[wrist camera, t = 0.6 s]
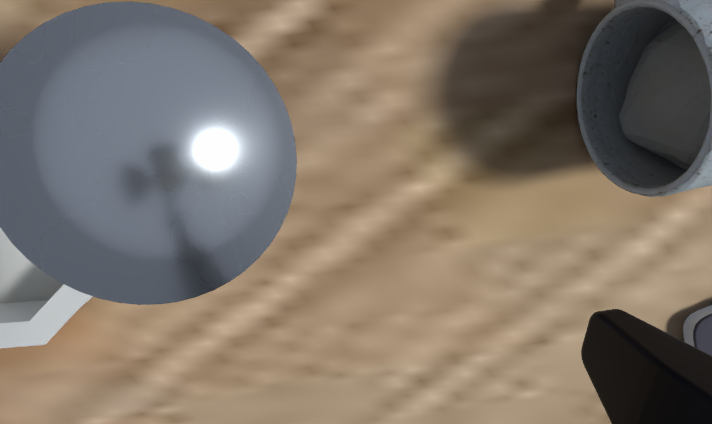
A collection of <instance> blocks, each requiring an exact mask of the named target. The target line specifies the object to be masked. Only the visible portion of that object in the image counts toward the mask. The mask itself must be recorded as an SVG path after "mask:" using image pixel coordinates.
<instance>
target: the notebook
mask: <svg viewBox="0 0 712 424" xmlns="http://www.w3.org/2000/svg"><path fill="white" fill-rule="evenodd" d="M683 335H684V341H685V343H687V344H689V345H691V346H693V347H695V348H697V349H699V350H701V351H703V352H705V353H707V354H709V355H711V356H712V305H710V306H707V307H705V308H702V309H700V310H698V311H696V312H694V313H692V314H690V315H689V316H688V317H687V318H686V320H685V322H684V325H683Z"/></svg>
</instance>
